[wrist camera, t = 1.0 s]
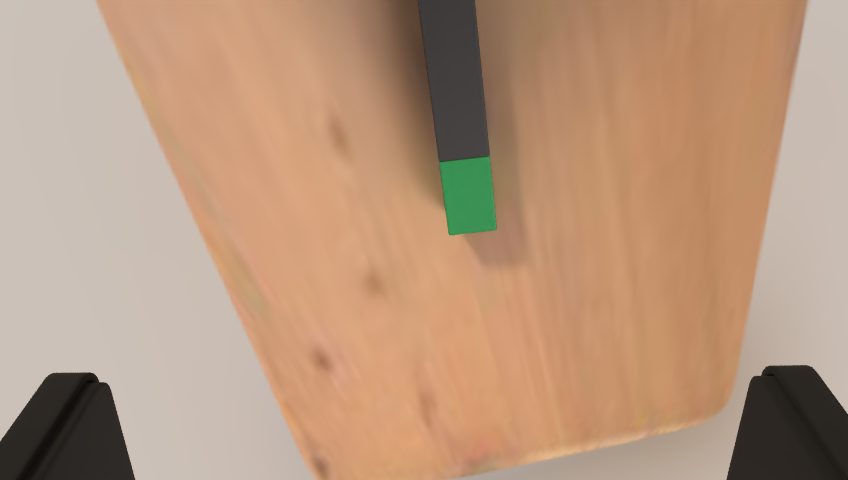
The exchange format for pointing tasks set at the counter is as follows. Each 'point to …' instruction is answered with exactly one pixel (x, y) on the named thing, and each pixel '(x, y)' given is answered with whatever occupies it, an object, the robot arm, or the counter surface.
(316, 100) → the counter surface
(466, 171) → the marker
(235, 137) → the counter surface
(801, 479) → the robot arm
